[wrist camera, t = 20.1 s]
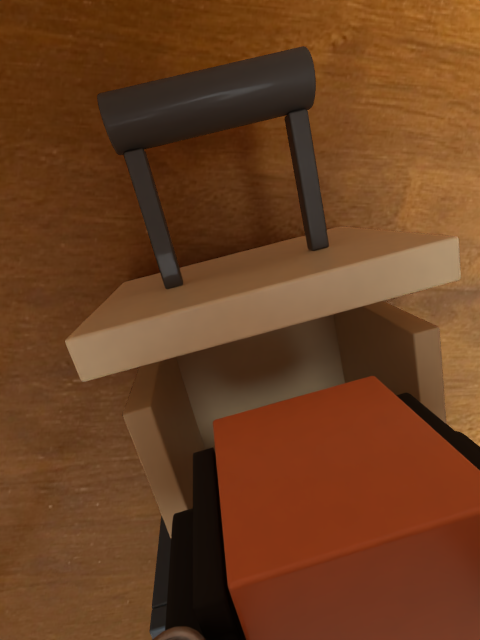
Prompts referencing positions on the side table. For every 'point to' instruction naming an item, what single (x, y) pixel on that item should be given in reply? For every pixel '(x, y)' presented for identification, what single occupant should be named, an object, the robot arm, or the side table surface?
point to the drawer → (252, 285)
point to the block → (348, 520)
